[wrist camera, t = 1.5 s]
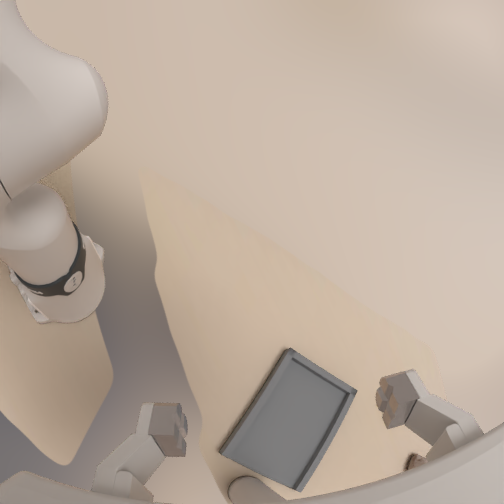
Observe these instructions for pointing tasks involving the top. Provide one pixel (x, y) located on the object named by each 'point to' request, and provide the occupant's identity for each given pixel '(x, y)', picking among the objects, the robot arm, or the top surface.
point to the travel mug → (251, 492)
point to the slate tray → (290, 421)
